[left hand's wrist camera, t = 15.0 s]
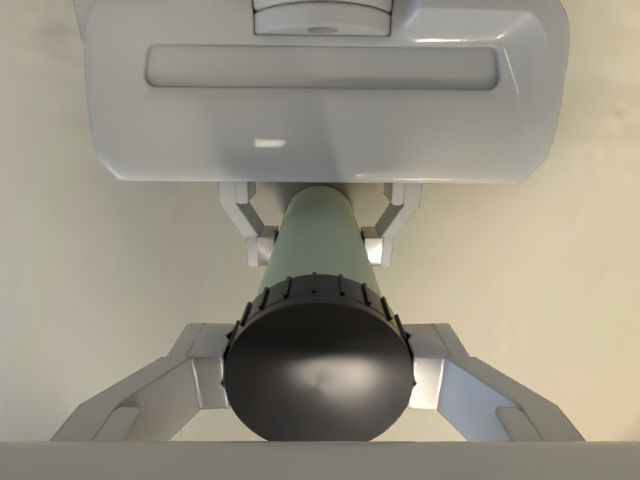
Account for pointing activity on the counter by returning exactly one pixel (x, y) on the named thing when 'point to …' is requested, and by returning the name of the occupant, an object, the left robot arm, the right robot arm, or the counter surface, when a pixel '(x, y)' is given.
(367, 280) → the jar
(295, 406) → the lid
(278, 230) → the right robot arm
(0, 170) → the counter surface
